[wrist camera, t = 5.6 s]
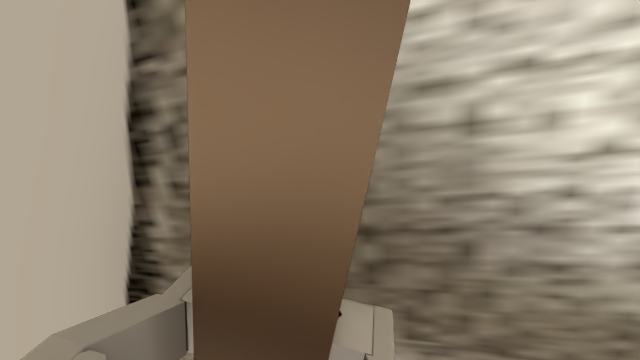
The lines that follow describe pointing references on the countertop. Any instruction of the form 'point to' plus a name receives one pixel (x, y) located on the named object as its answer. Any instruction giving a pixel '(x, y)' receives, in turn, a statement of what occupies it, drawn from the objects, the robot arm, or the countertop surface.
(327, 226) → the turner
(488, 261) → the countertop surface
